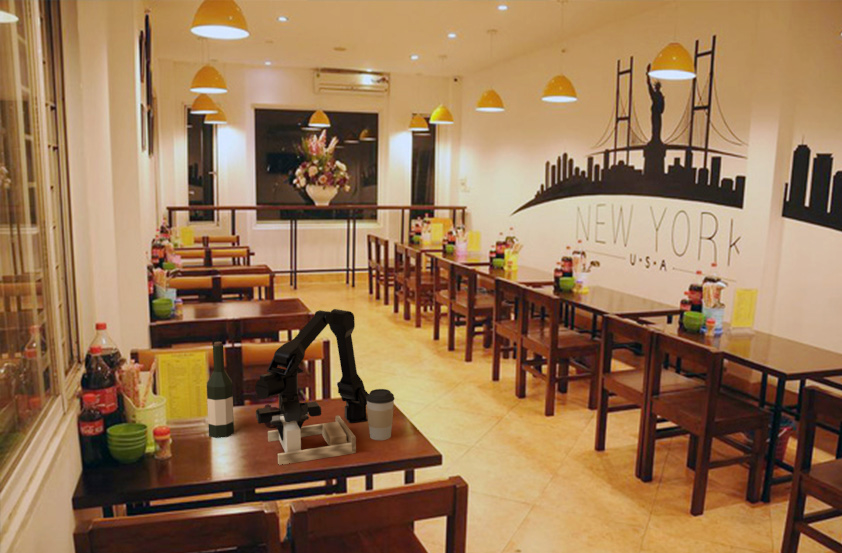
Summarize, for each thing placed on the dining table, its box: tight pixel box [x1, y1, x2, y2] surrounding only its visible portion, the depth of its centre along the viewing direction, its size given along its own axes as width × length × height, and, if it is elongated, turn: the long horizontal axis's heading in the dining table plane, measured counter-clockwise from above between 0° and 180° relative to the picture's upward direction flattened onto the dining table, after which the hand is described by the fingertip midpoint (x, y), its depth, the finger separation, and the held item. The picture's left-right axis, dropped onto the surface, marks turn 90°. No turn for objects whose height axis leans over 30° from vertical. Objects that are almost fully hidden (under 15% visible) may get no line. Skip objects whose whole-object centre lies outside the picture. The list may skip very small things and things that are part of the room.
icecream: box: [263, 404, 279, 429], centre depth 212 cm, size 7×7×15 cm
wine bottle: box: [206, 341, 235, 439], centre depth 205 cm, size 8×8×30 cm
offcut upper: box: [322, 421, 347, 446], centre depth 199 cm, size 5×12×2 cm, turn 19°
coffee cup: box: [366, 388, 395, 441], centre depth 204 cm, size 9×9×15 cm
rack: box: [267, 415, 357, 466], centre depth 196 cm, size 23×19×5 cm
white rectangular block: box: [278, 416, 302, 453], centre depth 194 cm, size 4×14×8 cm, turn 22°
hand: (289, 439), depth 194 cm, fingers closed on white rectangular block, 4 cm apart
